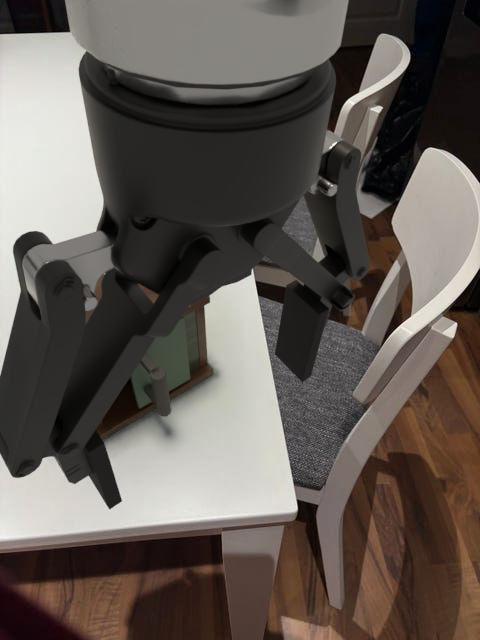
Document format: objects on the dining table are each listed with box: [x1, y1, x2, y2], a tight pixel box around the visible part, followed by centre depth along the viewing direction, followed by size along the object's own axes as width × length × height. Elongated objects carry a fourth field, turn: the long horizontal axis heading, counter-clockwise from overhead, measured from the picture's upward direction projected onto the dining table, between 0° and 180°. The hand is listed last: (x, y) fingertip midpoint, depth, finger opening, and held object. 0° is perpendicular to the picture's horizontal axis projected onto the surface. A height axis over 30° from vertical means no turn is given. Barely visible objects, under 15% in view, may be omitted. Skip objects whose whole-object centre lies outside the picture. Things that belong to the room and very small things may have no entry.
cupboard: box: [85, 274, 214, 441], centre depth 61 cm, size 10×16×14 cm, turn 128°
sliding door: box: [130, 317, 190, 418], centre depth 58 cm, size 5×7×11 cm
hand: (206, 420), depth 31 cm, fingers open, 13 cm apart
